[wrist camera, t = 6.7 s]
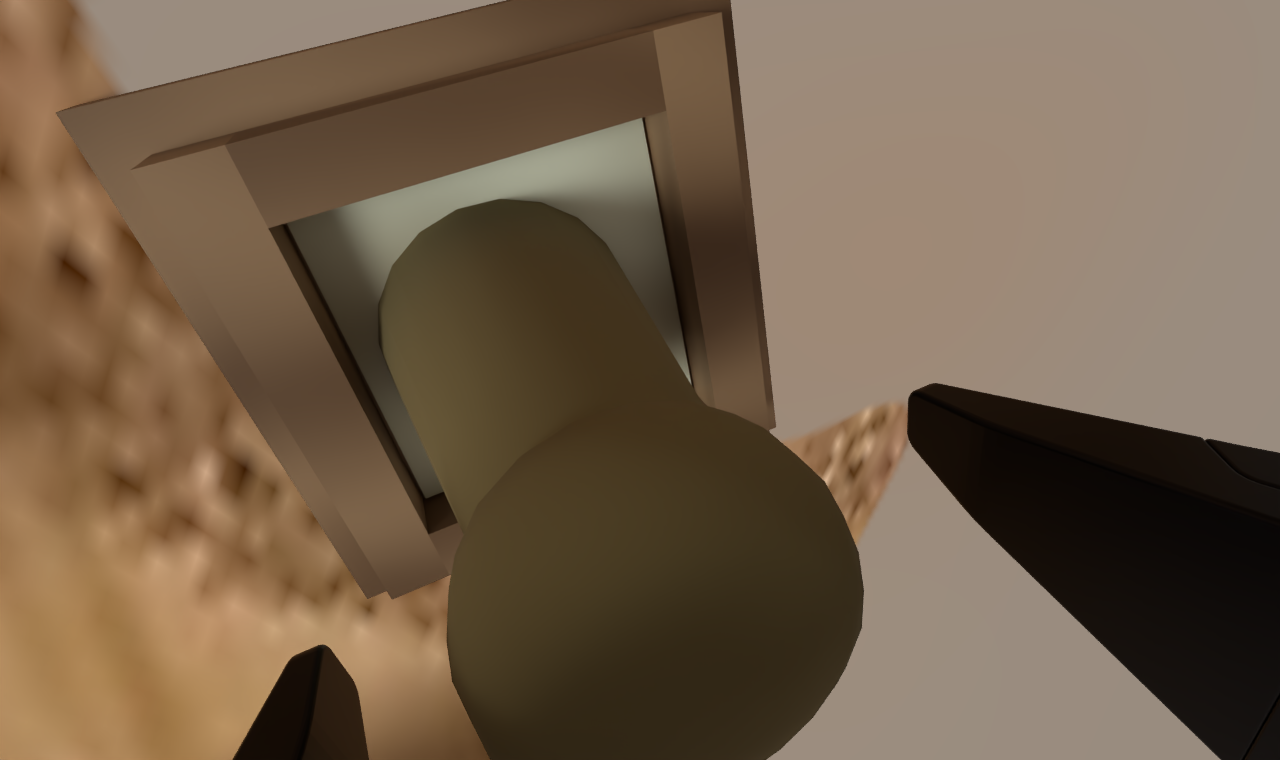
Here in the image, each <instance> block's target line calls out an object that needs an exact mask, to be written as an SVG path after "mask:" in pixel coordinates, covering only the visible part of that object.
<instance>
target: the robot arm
mask: <svg viewBox="0 0 1280 760" xmlns="http://www.w3.org/2000/svg"><path fill="white" fill-rule="evenodd" d="M907 434H908V438H909V441H910V443H911V445H912V447H913V448H914V449H915V451H916V452H917V453H918V454H919V455H920V457H921V458H922V459H923V460H924V461H925V462H926V464H927V465H928V466H929V467H930V468H931V470H932V471H933V472H934V473H935V474H936V476H937V477H938V478H939V479H940V480H941V482H942V483H943V484H944V485H945V486H946V487H947V489H948V490H949V491H950V492H951V493H952V495H953V496H954V497H955V498H956V499H957V501H958V502H959V503H960V504H961V505H962V506H963V508H964V509H965V510H966V511H967V512H968V513H969V514H970V515H971V517H972V518H973V519H974V520H975V521H976V522H977V523H978V524H979V525H980V526H981V527H982V528H983V529H984V530H985V531H986V532H987V533H988V534H989V535H990V536H991V537H992V538H993V539H994V540H995V541H996V542H997V543H998V544H999V545H1000V546H1001V547H1002V548H1003V549H1004V550H1006V552H1008V553H1009V554H1010V555H1011V556H1012V557H1013V558H1014V559H1015V560H1016V561H1017V562H1018V563H1019V564H1020V565H1021V566H1022V567H1023V568H1024V569H1025V570H1026V571H1027V572H1028V573H1029V574H1030V575H1031V576H1032V577H1033V578H1034V579H1035V580H1036V581H1037V582H1038V583H1039V584H1040V585H1041V586H1043V587H1044V588H1045V589H1046V590H1047V591H1048V592H1049V593H1050V594H1051V595H1052V596H1053V597H1054V598H1055V599H1056V600H1057V601H1058V602H1059V603H1060V604H1061V605H1062V606H1063V607H1064V608H1065V609H1066V610H1067V611H1068V612H1069V613H1070V614H1071V615H1072V616H1073V617H1074V618H1075V619H1077V620H1078V621H1079V622H1080V623H1081V624H1082V625H1083V626H1084V627H1085V628H1086V629H1087V630H1088V631H1089V632H1090V633H1091V634H1092V635H1093V636H1094V637H1095V638H1096V639H1097V640H1098V641H1099V642H1100V643H1101V644H1102V645H1103V646H1104V647H1106V649H1107V650H1108V651H1109V652H1110V653H1111V654H1113V655H1114V656H1115V657H1116V658H1117V659H1118V660H1119V661H1120V662H1121V663H1122V664H1123V665H1124V666H1125V667H1126V668H1127V669H1128V670H1129V671H1130V672H1131V673H1132V674H1133V675H1134V676H1135V677H1136V678H1137V679H1138V680H1139V681H1140V682H1141V683H1142V684H1143V685H1145V687H1147V689H1149V690H1150V691H1151V692H1152V693H1153V694H1154V695H1155V696H1156V697H1157V698H1158V699H1159V700H1160V701H1161V702H1162V703H1163V704H1164V705H1165V706H1166V707H1167V708H1168V709H1169V710H1170V711H1171V712H1172V713H1173V714H1174V715H1175V716H1177V718H1178V719H1180V721H1181V722H1183V723H1184V724H1185V725H1186V726H1187V727H1188V728H1189V729H1190V730H1191V731H1192V732H1193V733H1194V734H1195V735H1196V736H1197V737H1198V738H1199V739H1200V740H1201V741H1202V742H1203V743H1204V744H1205V745H1206V746H1207V747H1208V748H1209V749H1210V750H1211V751H1212V752H1213V753H1214V754H1215V755H1217V756H1218V757H1219V758H1220V759H1221V760H1280V453H1278V452H1273V451H1267V450H1262V449H1257V448H1252V447H1246V446H1241V445H1236V444H1232V443H1227V442H1222V441H1217V440H1213V439H1206V440H1204V439H1203V438H1201V437H1197V436H1192V435H1187V434H1182V433H1178V432H1172V431H1168V430H1163V429H1158V428H1153V427H1148V426H1144V425H1138V424H1134V423H1129V422H1124V421H1119V420H1114V419H1109V418H1105V417H1100V416H1095V415H1090V414H1085V413H1080V412H1075V411H1070V410H1065V409H1060V408H1055V407H1051V406H1045V405H1041V404H1036V403H1031V402H1026V401H1021V400H1016V399H1012V398H1007V397H1002V396H997V395H992V394H987V393H982V392H978V391H972V390H968V389H963V388H958V387H953V386H948V385H943V384H938V383H933V384H929V385H927V386H924V387H922V388H920V389H917V390H915V391H913V392H912V393H911V394H910V396H909V399H908V423H907ZM233 760H369V757H368V751H367V744H366V738H365V732H364V725H363V719H362V713H361V706H360V700H359V695H358V691H357V688H356V685H355V683H354V681H353V679H352V678H351V676H350V675H349V674H348V672H347V671H346V669H345V668H344V667H343V665H342V664H341V663H340V661H339V660H338V658H337V657H336V656H335V654H334V653H333V652H332V650H331V649H330V648H329V647H327V646H326V645H318V646H316V647H313V648H311V649H309V650H306V651H304V652H302V653H299V654H297V655H295V656H293V657H292V658H291V659H290V660H289V661H288V663H287V664H286V666H285V668H284V670H283V671H282V673H281V675H280V677H279V679H278V680H277V682H276V684H275V686H274V687H273V689H272V691H271V693H270V694H269V696H268V698H267V700H266V701H265V703H264V705H263V707H262V709H261V710H260V712H259V714H258V716H257V717H256V719H255V721H254V723H253V724H252V726H251V728H250V730H249V731H248V733H247V735H246V737H245V738H244V740H243V742H242V744H241V746H240V747H239V749H238V751H237V753H236V754H235V756H234V758H233Z"/></svg>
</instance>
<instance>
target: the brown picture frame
mask: <svg viewBox="0 0 1280 760" xmlns="http://www.w3.org/2000/svg"><path fill="white" fill-rule="evenodd" d="M56 114H57V116H58V117H59V119H60V120H61V122H62V123H63V125H64V126H65V128H66V130H67V131H68V133H69V134H70V136H71V137H72V139H73V141H74V142H75V144H76V145H77V147H78V148H79V150H80V151H81V153H82V155H83V156H84V158H85V159H86V161H87V162H88V164H89V165H90V167H91V169H92V170H93V172H94V173H95V175H96V176H97V178H98V180H99V181H100V183H101V184H102V186H103V187H104V189H105V190H106V192H107V194H108V195H109V197H110V198H111V200H112V201H113V203H114V204H115V206H116V208H117V209H118V211H119V212H120V214H121V215H122V217H123V218H124V220H125V222H126V223H127V225H128V226H129V228H130V229H131V231H132V233H133V234H134V236H135V237H136V239H137V240H138V242H139V243H140V245H141V247H142V248H143V250H144V251H145V253H146V254H147V256H148V257H149V259H150V261H151V262H152V264H153V265H154V267H155V268H156V270H157V272H158V273H159V275H160V276H161V278H162V279H163V281H164V282H165V284H166V286H167V287H168V289H169V290H170V292H171V293H172V295H173V296H174V298H175V300H176V301H177V303H178V304H179V306H180V307H181V309H182V311H183V312H184V314H185V315H186V317H187V318H188V320H189V321H190V323H191V325H192V326H193V328H194V329H195V331H196V332H197V334H198V335H199V337H200V339H201V340H202V342H203V343H204V345H205V346H206V348H207V350H208V351H209V353H210V354H211V356H212V357H213V359H214V360H215V362H216V364H217V365H218V367H219V368H220V370H221V371H222V373H223V374H224V376H225V378H226V379H227V381H228V382H229V384H230V385H231V387H232V388H233V390H234V392H235V393H236V395H237V396H238V398H239V399H240V401H241V403H242V404H243V406H244V407H245V409H246V410H247V412H248V413H249V415H250V417H251V418H252V420H253V421H254V423H255V424H256V426H257V427H258V429H259V431H260V432H261V434H262V435H263V437H264V438H265V440H266V442H267V443H268V445H269V446H270V448H271V449H272V451H273V452H274V454H275V456H276V457H277V459H278V460H279V462H280V463H281V465H282V466H283V468H284V470H285V471H286V473H287V474H288V476H289V477H290V479H291V481H292V482H293V484H294V485H295V487H296V488H297V490H298V491H299V493H300V495H301V496H302V498H303V499H304V501H305V502H306V504H307V505H308V507H309V509H310V510H311V512H312V513H313V515H314V516H315V518H316V519H317V521H318V523H319V524H320V526H321V527H322V529H323V530H324V532H325V534H326V535H327V537H328V538H329V540H330V541H331V543H332V544H333V546H334V548H335V549H336V551H337V552H338V554H339V555H340V557H341V558H342V560H343V562H344V563H345V565H346V566H347V568H348V569H349V571H350V573H351V574H352V576H353V577H354V579H355V580H356V582H357V583H358V585H359V587H360V588H361V590H362V591H363V593H364V594H365V596H366V597H367V599H369V598H371V597H373V596H376V595H378V594H381V593H383V592H385V591H387V592H388V594H389V595H390V597H391V599H395V598H397V597H399V596H402V595H404V594H406V593H409V592H411V591H413V590H416V589H418V588H420V587H423V586H425V585H428V584H430V583H432V582H435V581H437V580H439V579H442V578H444V577H446V576H449V575H451V574H452V568H453V562H454V557H455V553H456V551H457V549H458V546H459V544H460V542H461V540H462V538H463V535H464V534H463V532H462V530H461V528H460V526H459V524H458V521H457V519H456V517H455V515H454V513H453V510H452V508H451V506H450V504H449V502H448V499H447V497H446V495H445V493H444V491H443V488H442V486H441V484H440V482H439V480H438V478H437V475H436V473H435V471H434V469H433V467H432V464H431V462H430V460H429V458H428V456H427V453H426V451H425V449H424V447H423V445H422V442H421V440H420V438H419V436H418V434H417V432H416V429H415V427H414V425H413V423H412V421H411V418H410V416H409V414H408V412H407V410H406V407H405V405H404V403H403V401H402V399H401V396H400V394H399V392H398V390H397V388H396V385H395V383H394V381H393V379H392V376H391V374H390V371H389V369H388V366H387V364H386V361H385V359H384V356H383V354H382V351H381V349H380V346H379V339H378V303H379V300H380V298H381V295H382V292H383V289H384V286H385V284H386V281H387V278H388V275H389V272H390V270H391V267H392V265H393V264H394V263H395V261H396V260H397V259H398V258H399V257H400V255H401V254H402V253H403V252H404V250H405V249H406V248H407V247H408V246H409V244H410V243H411V242H412V241H413V239H414V238H415V237H416V236H417V235H418V233H419V232H421V231H422V230H424V229H426V228H427V227H429V226H430V225H432V224H434V223H435V222H437V221H439V220H440V219H442V218H443V217H445V216H447V215H448V214H450V213H451V212H453V211H455V210H456V209H460V208H464V207H468V206H472V205H476V204H480V203H484V202H488V201H492V200H497V199H508V200H521V201H533V202H542V203H545V204H547V205H549V206H552V207H554V208H556V209H559V210H561V211H563V212H566V213H568V214H571V215H573V216H575V217H578V218H579V219H580V220H581V221H582V222H583V223H584V224H586V225H587V226H588V227H589V228H590V229H591V230H592V231H593V232H594V233H596V234H597V235H598V236H599V237H600V238H601V239H602V240H603V241H604V242H605V243H606V244H607V246H608V247H609V249H610V251H611V252H612V254H613V255H614V257H615V259H616V260H617V262H618V264H619V265H620V267H621V269H622V270H623V272H624V274H625V275H626V277H627V279H628V280H629V282H630V284H631V285H632V287H633V289H634V290H635V292H636V294H637V295H638V297H639V299H640V300H641V302H642V304H643V305H644V307H645V309H646V310H647V312H648V314H649V315H650V317H651V319H652V320H653V322H654V324H655V325H656V327H657V329H658V330H659V332H660V334H661V335H662V337H663V339H664V340H665V342H666V344H667V345H668V347H669V348H670V350H671V352H672V353H673V355H674V357H675V358H676V360H677V362H678V363H679V365H680V367H681V368H682V370H683V372H684V373H685V375H686V377H687V378H688V380H689V382H690V383H691V385H692V387H693V388H694V390H695V392H696V393H697V395H698V397H699V398H700V400H701V402H702V403H703V405H706V406H710V407H713V408H716V409H720V410H723V411H726V412H730V413H733V414H736V415H738V416H740V417H742V418H744V419H746V420H748V421H750V422H753V423H755V424H757V425H759V426H761V427H763V428H765V429H766V430H767V431H768V432H769V430H770V429H773V428H775V427H776V422H775V413H774V403H773V394H772V385H771V375H770V366H769V357H768V347H767V338H766V329H765V319H764V310H763V302H762V301H763V300H762V292H761V282H760V273H759V263H758V254H757V244H756V235H755V227H754V216H753V208H752V198H751V188H750V179H749V170H748V160H747V151H746V142H745V133H744V123H743V114H742V104H741V95H740V86H739V77H738V67H737V58H736V49H735V39H734V30H733V20H732V11H731V2H730V0H506V1H503V2H498V3H494V4H490V5H486V6H482V7H478V8H473V9H470V10H465V11H461V12H457V13H453V14H449V15H445V16H441V17H437V18H433V19H429V20H425V21H420V22H417V23H412V24H409V25H404V26H400V27H396V28H392V29H388V30H383V31H379V32H375V33H371V34H367V35H363V36H359V37H355V38H351V39H347V40H342V41H339V42H335V43H330V44H326V45H322V46H318V47H314V48H310V49H306V50H302V51H297V52H294V53H289V54H285V55H281V56H277V57H273V58H269V59H265V60H261V61H256V62H252V63H248V64H244V65H240V66H237V67H232V68H228V69H224V70H220V71H216V72H212V73H208V74H204V75H200V76H195V77H191V78H187V79H183V80H179V81H175V82H171V83H166V84H163V85H158V86H154V87H150V88H146V89H142V90H138V91H134V92H130V93H125V94H121V95H117V96H113V97H109V98H105V99H101V100H97V101H93V102H89V103H85V104H80V105H76V106H73V107H70V108H67V109H64V110H61V111H59V112H56ZM769 433H770V432H769Z"/></svg>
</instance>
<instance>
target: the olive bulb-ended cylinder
mask: <svg viewBox="0 0 1280 760" xmlns="http://www.w3.org/2000/svg"><path fill="white" fill-rule="evenodd" d="M378 339H379V346H380V349H381V351H382V354H383V356H384V359H385V361H386V364H387V366H388V369H389V371H390V374H391V376H392V379H393V381H394V383H395V385H396V388H397V390H398V392H399V394H400V396H401V399H402V401H403V403H404V405H405V407H406V410H407V412H408V414H409V416H410V418H411V421H412V423H413V425H414V427H415V429H416V432H417V434H418V436H419V438H420V440H421V442H422V445H423V447H424V449H425V451H426V453H427V456H428V458H429V460H430V462H431V464H432V467H433V469H434V471H435V473H436V475H437V478H438V480H439V482H440V484H441V486H442V488H443V491H444V493H445V495H446V497H447V499H448V502H449V504H450V506H451V508H452V510H453V513H454V515H455V517H456V519H457V521H458V524H459V526H460V528H461V530H462V532H463V534H464V535H463V538H462V540H461V542H460V544H459V546H458V549H457V551H456V553H455V557H454V562H453V568H452V574H451V579H450V585H449V594H448V618H447V648H448V655H449V662H450V669H451V676H452V682H453V684H454V686H455V688H456V690H457V693H458V695H459V697H460V699H461V701H462V703H463V705H464V707H465V709H466V712H467V714H468V716H469V718H470V720H471V722H472V724H473V726H474V728H475V730H476V732H477V734H478V736H479V738H480V740H481V742H482V744H483V746H484V748H485V750H486V752H487V754H488V756H489V758H490V759H491V760H766V759H768V758H769V757H770V756H772V755H773V754H774V753H776V752H777V751H779V750H780V749H781V748H782V747H783V746H784V745H785V744H786V743H787V742H788V741H789V740H790V739H792V738H793V736H795V735H796V734H797V733H798V732H799V731H800V730H801V729H802V728H803V727H804V726H805V725H806V724H807V723H808V722H809V721H810V720H811V719H812V718H813V716H814V715H815V714H816V712H817V711H818V710H819V708H820V707H821V705H822V704H823V703H824V701H825V699H826V698H827V697H828V695H829V694H830V693H831V691H832V690H833V688H834V687H835V685H836V684H837V682H838V681H839V679H840V677H841V675H842V673H843V672H844V669H845V668H846V666H847V663H848V661H849V658H850V656H851V653H852V651H853V648H854V646H855V643H856V641H857V638H858V636H859V633H860V631H861V628H862V613H863V595H864V588H863V581H862V574H861V566H860V560H859V552H858V550H857V547H856V545H855V543H854V540H853V538H852V535H851V533H850V530H849V528H848V526H847V523H846V521H845V518H844V516H843V514H842V512H841V510H840V509H839V507H838V505H837V503H836V501H835V499H834V498H833V496H832V494H831V492H830V490H829V489H828V487H827V485H826V483H825V481H823V480H822V479H821V478H820V477H819V476H818V475H817V474H816V473H815V472H814V471H813V470H812V469H811V468H810V467H809V466H808V465H807V464H805V463H804V462H803V461H802V460H801V459H800V458H799V457H798V456H797V455H796V454H794V453H793V452H792V451H791V450H790V449H789V448H787V447H786V446H785V445H784V444H783V443H781V442H780V441H779V440H778V439H777V438H775V437H774V436H773V435H772V434H771V433H769V432H768V431H767V430H766V429H765V428H763V427H761V426H759V425H757V424H755V423H753V422H750V421H748V420H746V419H744V418H742V417H740V416H738V415H736V414H733V413H730V412H726V411H723V410H720V409H716V408H713V407H710V406H706V405H703V403H702V402H701V400H700V398H699V397H698V395H697V393H696V392H695V390H694V388H693V387H692V385H691V383H690V382H689V380H688V378H687V377H686V375H685V373H684V372H683V370H682V368H681V367H680V365H679V363H678V362H677V360H676V358H675V357H674V355H673V353H672V352H671V350H670V348H669V347H668V345H667V344H666V342H665V340H664V339H663V337H662V335H661V334H660V332H659V330H658V329H657V327H656V325H655V324H654V322H653V320H652V319H651V317H650V315H649V314H648V312H647V310H646V309H645V307H644V305H643V304H642V302H641V300H640V299H639V297H638V295H637V294H636V292H635V290H634V289H633V287H632V285H631V284H630V282H629V280H628V279H627V277H626V275H625V274H624V272H623V270H622V269H621V267H620V265H619V264H618V262H617V260H616V259H615V257H614V255H613V254H612V252H611V251H610V249H609V247H608V246H607V244H606V243H605V242H604V241H603V240H602V239H601V238H600V237H599V236H598V235H597V234H596V233H594V232H593V231H592V230H591V229H590V228H589V227H588V226H587V225H586V224H584V223H583V222H582V221H581V220H580V219H579V218H578V217H575V216H573V215H571V214H568V213H566V212H563V211H561V210H559V209H556V208H554V207H552V206H549V205H547V204H545V203H542V202H533V201H521V200H508V199H497V200H492V201H488V202H484V203H480V204H476V205H472V206H468V207H464V208H460V209H456V210H455V211H453V212H451V213H450V214H448V215H447V216H445V217H443V218H442V219H440V220H439V221H437V222H435V223H434V224H432V225H430V226H429V227H427V228H426V229H424V230H422V231H421V232H419V233H418V235H417V236H416V237H415V238H414V239H413V241H412V242H411V243H410V244H409V246H408V247H407V248H406V249H405V250H404V252H403V253H402V254H401V255H400V257H399V258H398V259H397V260H396V261H395V263H394V264H393V265H392V267H391V270H390V272H389V275H388V278H387V281H386V284H385V286H384V289H383V292H382V295H381V298H380V300H379V303H378Z"/></svg>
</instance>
